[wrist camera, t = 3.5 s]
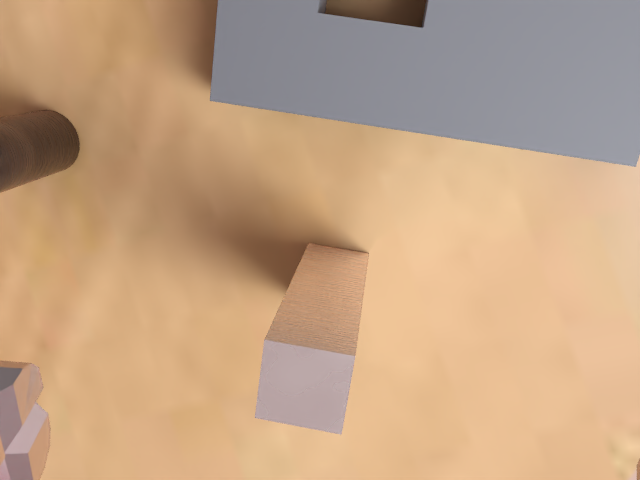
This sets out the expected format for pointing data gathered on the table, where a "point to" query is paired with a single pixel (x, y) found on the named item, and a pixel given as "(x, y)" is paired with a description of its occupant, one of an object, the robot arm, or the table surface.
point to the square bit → (314, 341)
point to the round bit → (35, 147)
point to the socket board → (446, 70)
